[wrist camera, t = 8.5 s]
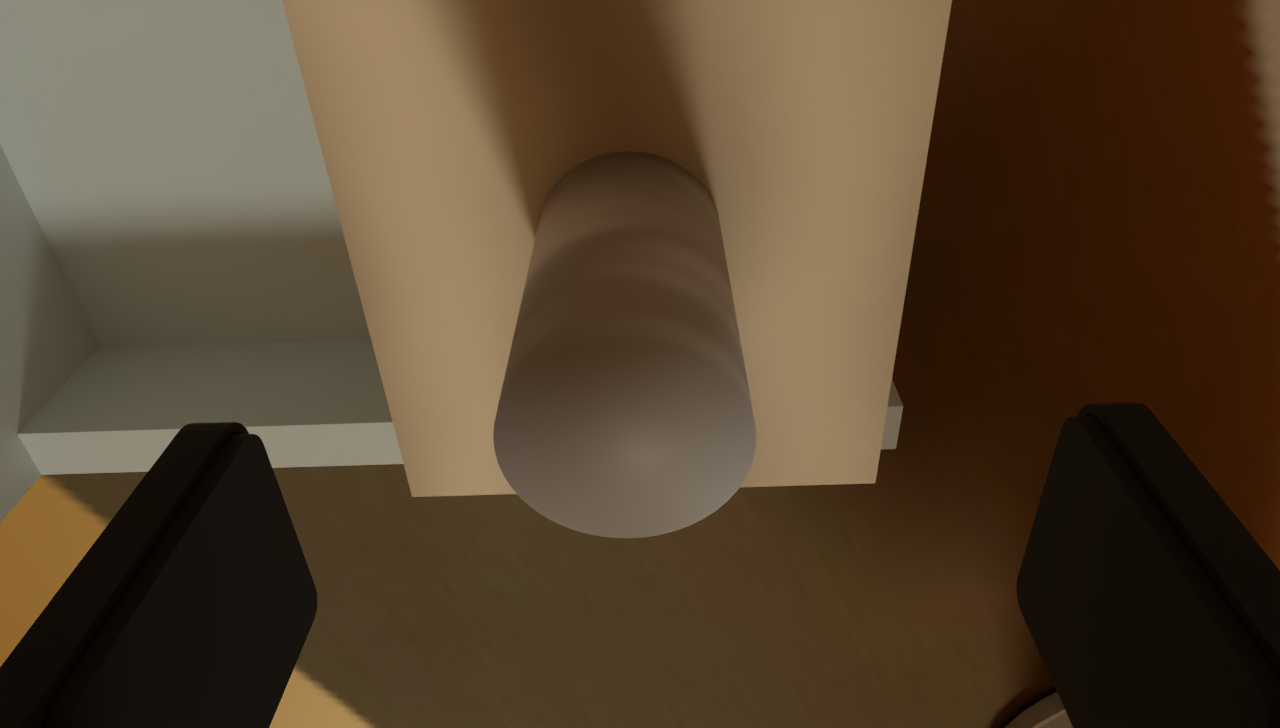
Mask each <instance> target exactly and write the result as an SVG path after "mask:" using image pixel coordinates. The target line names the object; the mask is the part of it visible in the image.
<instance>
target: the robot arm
mask: <svg viewBox="0 0 1280 728" xmlns="http://www.w3.org/2000/svg"><path fill="white" fill-rule="evenodd" d="M1017 598H1018V603H1019V607H1020V610H1021V612H1022V615H1023V617H1024V619H1025V621H1026V624H1027V626H1028V628H1029V630H1030V632H1031V635H1032V637H1033V639H1034V641H1035V644H1036V646H1037V648H1038V650H1039V653H1040V655H1041V657H1042V659H1043V662H1044V664H1045V666H1046V668H1047V670H1048V673H1049V675H1050V677H1051V679H1052V682H1053V684H1054V686H1055V688H1056V691H1057V692H1055V693H1053V694H1051V695H1049V696H1047V697H1045V698H1043V699H1041V700H1040V701H1038V702H1037V703H1035V704H1033V705H1032V706H1030V707H1029V708H1027V709H1026V710H1024V711H1023V712H1021V713H1020V714H1019V715H1018V716H1017V717H1016V718H1014V719H1013V720H1012V721H1011V722H1010V723H1009V724H1008V725H1007V726H1005V728H1280V571H1279V569H1278V568H1277V567H1276V566H1275V564H1274V563H1273V562H1272V561H1271V559H1270V558H1269V557H1268V556H1267V555H1266V553H1265V552H1264V551H1263V550H1262V548H1261V547H1260V546H1259V545H1258V543H1257V542H1256V541H1255V540H1254V538H1253V537H1252V536H1251V535H1250V533H1249V532H1248V531H1247V530H1246V528H1245V527H1244V526H1243V525H1242V523H1241V522H1240V521H1239V520H1238V518H1237V517H1236V516H1235V515H1234V514H1233V512H1232V511H1231V510H1230V509H1229V507H1228V506H1227V505H1226V504H1225V502H1224V501H1223V500H1222V499H1221V497H1220V496H1219V495H1218V494H1217V492H1216V491H1215V490H1214V489H1213V487H1212V486H1211V485H1210V484H1209V482H1208V481H1207V480H1206V479H1205V478H1204V476H1203V475H1202V474H1201V473H1200V471H1199V470H1198V469H1197V468H1196V466H1195V465H1194V464H1193V463H1192V461H1191V460H1190V459H1189V458H1188V456H1187V455H1186V454H1185V453H1184V451H1183V450H1182V449H1181V448H1180V446H1179V445H1178V444H1177V443H1176V442H1175V440H1174V439H1173V438H1172V437H1171V435H1170V434H1169V433H1168V432H1167V430H1166V429H1165V428H1164V427H1163V425H1162V424H1161V423H1160V422H1159V420H1158V419H1157V418H1156V417H1155V415H1154V414H1153V413H1152V412H1151V410H1149V409H1148V408H1147V407H1146V406H1145V405H1143V404H1140V403H1104V404H1088V405H1085V406H1084V407H1083V408H1082V409H1081V410H1080V411H1079V413H1078V416H1077V417H1070V418H1067V419H1066V420H1065V422H1064V424H1063V426H1062V429H1061V432H1060V435H1059V439H1058V442H1057V446H1056V449H1055V453H1054V456H1053V459H1052V463H1051V466H1050V470H1049V473H1048V476H1047V480H1046V483H1045V487H1044V490H1043V493H1042V497H1041V500H1040V504H1039V507H1038V510H1037V514H1036V517H1035V521H1034V524H1033V527H1032V531H1031V534H1030V538H1029V541H1028V544H1027V548H1026V551H1025V555H1024V558H1023V562H1022V565H1021V568H1020V572H1019V575H1018V579H1017ZM316 609H317V592H316V588H315V585H314V582H313V579H312V577H311V574H310V571H309V568H308V566H307V563H306V560H305V557H304V555H303V552H302V549H301V546H300V543H299V541H298V538H297V535H296V532H295V530H294V527H293V524H292V521H291V518H290V516H289V513H288V510H287V507H286V505H285V502H284V499H283V496H282V494H281V491H280V488H279V485H278V482H277V480H276V477H275V474H274V471H273V469H272V466H271V463H270V460H269V457H268V455H267V452H266V449H265V446H264V444H263V442H262V440H261V438H260V437H259V436H258V435H255V434H249V433H248V431H247V429H246V428H245V427H244V426H243V425H242V424H241V423H237V422H219V423H190V424H187V425H185V426H184V427H183V428H182V429H180V430H179V432H178V433H177V434H176V436H175V437H174V438H173V440H172V441H171V442H170V444H169V445H168V446H167V448H166V449H165V450H164V451H163V453H162V454H161V455H160V457H159V458H158V459H157V461H156V462H155V463H154V465H153V466H152V467H151V469H150V470H149V471H148V473H147V474H146V475H145V477H144V478H143V479H142V481H141V482H140V483H139V485H138V486H137V487H136V489H135V490H134V491H133V493H132V494H131V495H130V496H129V498H128V499H127V500H126V502H125V503H124V504H123V506H122V507H121V508H120V510H119V511H118V512H117V514H116V515H115V516H114V518H113V519H112V520H111V522H110V523H109V524H108V526H107V527H106V528H105V530H104V531H103V532H102V534H101V535H100V536H99V538H98V539H97V540H96V542H95V543H94V544H93V546H92V547H91V548H90V550H89V551H88V552H87V554H86V555H85V556H84V557H83V559H82V560H81V561H80V563H79V564H78V566H77V567H76V568H75V569H74V571H73V572H72V573H71V575H70V576H69V577H68V579H67V580H66V581H65V583H64V584H63V585H62V587H61V588H60V589H59V591H58V592H57V593H56V594H55V596H54V597H53V598H52V600H51V601H50V602H49V604H48V605H47V606H46V608H45V609H44V611H43V612H42V613H41V614H40V616H39V617H38V618H37V620H36V621H35V622H34V624H33V625H32V626H31V628H30V629H29V630H28V632H27V633H26V634H25V636H24V637H23V638H22V639H21V641H20V642H19V643H18V645H17V646H16V647H15V649H14V650H13V651H12V653H11V654H10V655H9V657H8V658H7V659H6V661H5V662H4V663H3V665H2V666H1V667H0V728H269V726H270V724H271V721H272V719H273V717H274V714H275V712H276V710H277V707H278V705H279V702H280V700H281V698H282V695H283V693H284V690H285V688H286V685H287V683H288V681H289V678H290V676H291V674H292V671H293V669H294V666H295V664H296V662H297V659H298V657H299V655H300V652H301V650H302V647H303V645H304V643H305V640H306V638H307V635H308V633H309V631H310V628H311V626H312V623H313V621H314V618H315V615H316Z"/></svg>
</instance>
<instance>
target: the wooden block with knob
mask: <svg viewBox="0 0 1280 728" xmlns="http://www.w3.org/2000/svg"><path fill="white" fill-rule="evenodd" d="M282 1H283V5H284V9H285V13H286V17H287V20H288V24H289V28H290V32H291V36H292V40H293V43H294V47H295V51H296V55H297V59H298V62H299V66H300V70H301V74H302V78H303V82H304V85H305V89H306V93H307V97H308V101H309V104H310V108H311V112H312V116H313V120H314V124H315V127H316V131H317V135H318V139H319V143H320V146H321V150H322V154H323V158H324V162H325V166H326V169H327V173H328V177H329V181H330V185H331V188H332V192H333V196H334V200H335V204H336V208H337V211H338V215H339V219H340V223H341V227H342V230H343V234H344V238H345V242H346V246H347V250H348V253H349V257H350V261H351V265H352V269H353V272H354V276H355V280H356V284H357V288H358V292H359V295H360V299H361V303H362V307H363V311H364V315H365V318H366V322H367V326H368V330H369V334H370V337H371V341H372V345H373V349H374V353H375V357H376V360H377V364H378V368H379V372H380V376H381V379H382V383H383V387H384V391H385V395H386V399H387V402H388V406H389V410H390V414H391V418H392V421H393V425H394V429H395V433H396V437H397V441H398V444H399V448H400V452H401V456H402V460H403V463H404V467H405V471H406V475H407V479H408V483H409V486H410V490H411V494H412V497H425V496H459V495H493V494H517V495H518V496H519V497H520V498H521V499H522V500H523V501H524V502H526V503H527V504H528V505H529V506H530V507H531V508H533V509H534V510H536V511H537V512H538V513H540V514H541V515H543V516H545V517H546V518H548V519H550V520H552V521H554V522H555V523H558V524H560V525H563V526H565V527H567V528H570V529H573V530H576V531H579V532H583V533H587V534H591V535H596V536H603V537H612V538H640V537H650V536H656V535H661V534H665V533H669V532H673V531H676V530H679V529H682V528H684V527H687V526H690V525H692V524H694V523H696V522H698V521H700V520H702V519H704V518H706V517H707V516H709V515H710V514H712V513H713V512H715V511H716V510H718V509H719V508H720V507H721V506H722V505H724V504H725V503H726V502H727V501H728V500H729V499H730V498H731V497H732V496H733V495H734V494H735V493H736V491H737V490H738V489H739V487H765V486H799V485H833V484H867V483H875V482H876V476H877V470H878V463H879V457H880V451H881V444H882V438H883V432H884V425H885V419H886V413H887V407H888V400H889V394H890V388H891V381H892V375H893V369H894V363H895V356H896V350H897V344H898V337H899V331H900V325H901V318H902V312H903V306H904V300H905V293H906V287H907V281H908V274H909V268H910V262H911V255H912V249H913V243H914V237H915V230H916V224H917V218H918V211H919V205H920V199H921V192H922V186H923V180H924V174H925V167H926V161H927V155H928V148H929V142H930V136H931V129H932V123H933V117H934V111H935V104H936V98H937V92H938V85H939V79H940V73H941V67H942V60H943V54H944V48H945V41H946V35H947V29H948V22H949V16H950V10H951V4H952V0H282Z"/></svg>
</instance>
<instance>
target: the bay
mask: <svg viewBox="0 0 1280 728" xmlns="http://www.w3.org/2000/svg"><path fill="white" fill-rule="evenodd" d="M902 411H903V404H902V402H901V399H900V397H899V395H898V392H897V390H896V387H895V385H894V383H893V380H892V381H891V388H890V394H889V400H888V407H887V413H886V419H885V425H884V432H883V438H882V444H881V449H896V446H897V440H898V434H899V428H900V422H901V417H902ZM219 422H237V423H241V424H242V425H243V426H244V427H245V428H246V429H247V431H248V433H249V434H255V435H258V436H259V437H260V438H261V440H262V442H263V444H264V446H265V449H266V452H267V455H268V457H269V460H270V463H271V466H272V468H280V467H313V466H346V465H379V464H404V463H403V460H402V456H401V452H400V448H399V444H398V441H397V437H396V433H395V429H394V425H393V421H392V418H391V414H390V410H389V406H388V402H387V399H386V395H385V391H384V387H383V383H382V379H381V376H380V372H379V368H378V364H377V360H376V357H375V353H374V349H373V345H372V341H371V337H370V334H369V330H368V326H367V322H366V318H365V315H364V311H363V307H362V303H361V299H360V295H359V292H358V288H357V284H356V280H355V276H354V272H353V269H352V265H351V261H350V257H349V253H348V250H347V246H346V242H345V238H344V234H343V230H342V227H341V223H340V219H339V215H338V211H337V208H336V204H335V200H334V196H333V192H332V188H331V185H330V181H329V177H328V173H327V169H326V166H325V162H324V158H323V154H322V150H321V146H320V143H319V139H318V135H317V131H316V127H315V124H314V120H313V116H312V112H311V108H310V104H309V101H308V97H307V93H306V89H305V85H304V82H303V78H302V74H301V70H300V66H299V62H298V59H297V55H296V51H295V47H294V43H293V40H292V36H291V32H290V28H289V24H288V20H287V17H286V13H285V9H284V5H283V1H282V0H0V523H1V522H2V520H3V519H4V518H5V517H6V516H7V514H8V513H9V512H10V511H11V510H12V509H13V507H14V506H15V505H16V504H17V503H18V502H19V500H20V499H21V498H22V497H23V496H24V494H25V493H26V492H27V491H28V490H29V489H30V487H31V486H32V485H33V484H34V483H35V482H36V480H37V479H38V478H39V477H40V476H41V475H48V474H81V473H114V472H147V471H149V470H150V469H151V467H152V466H153V465H154V463H155V462H156V461H157V459H158V458H159V457H160V455H161V454H162V453H163V451H164V450H165V449H166V448H167V446H168V445H169V444H170V442H171V441H172V440H173V438H174V437H175V436H176V434H177V433H178V432H179V430H180V429H182V428H183V427H184V426H185V425H187V424H190V423H219Z"/></svg>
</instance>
